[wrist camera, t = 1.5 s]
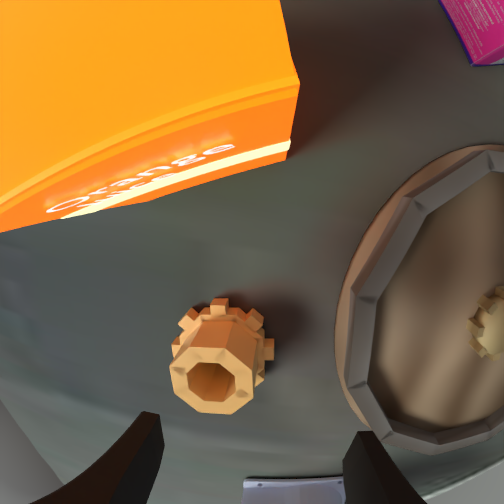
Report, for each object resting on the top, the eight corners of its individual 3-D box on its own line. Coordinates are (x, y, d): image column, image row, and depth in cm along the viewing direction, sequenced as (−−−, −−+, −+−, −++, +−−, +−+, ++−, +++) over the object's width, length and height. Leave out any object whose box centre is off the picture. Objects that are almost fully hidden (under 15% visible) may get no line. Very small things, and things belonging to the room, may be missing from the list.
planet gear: (183, 381, 21) (164, 420, 17) (171, 297, 20) (145, 326, 16) (274, 384, 21) (272, 427, 17) (273, 298, 20) (270, 330, 15)
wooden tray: (321, 455, 22) (323, 478, 20) (334, 130, 17) (343, 123, 15) (536, 407, 20) (548, 420, 17) (584, 166, 15) (603, 167, 12)
